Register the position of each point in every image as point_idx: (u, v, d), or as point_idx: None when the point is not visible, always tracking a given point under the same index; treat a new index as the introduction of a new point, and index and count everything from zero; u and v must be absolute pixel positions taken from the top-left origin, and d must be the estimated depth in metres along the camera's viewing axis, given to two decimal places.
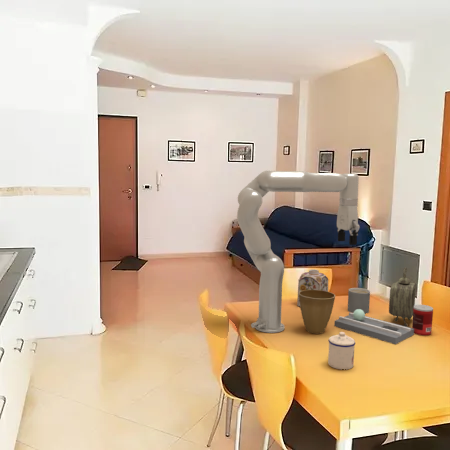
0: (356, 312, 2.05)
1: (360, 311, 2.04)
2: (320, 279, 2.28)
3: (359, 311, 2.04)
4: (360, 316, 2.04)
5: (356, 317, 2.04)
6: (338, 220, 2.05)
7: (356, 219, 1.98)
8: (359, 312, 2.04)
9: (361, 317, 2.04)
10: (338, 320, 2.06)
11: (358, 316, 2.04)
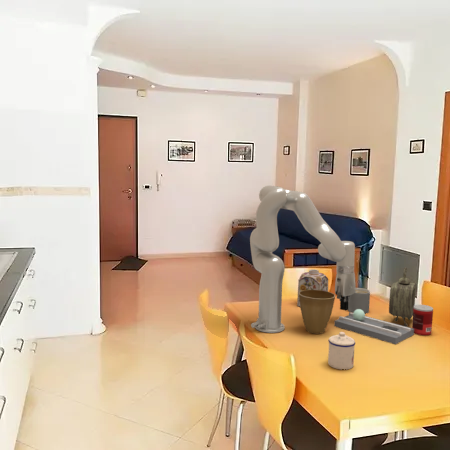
0: (356, 312, 2.05)
1: (360, 311, 2.04)
2: (320, 279, 2.28)
3: (359, 311, 2.04)
4: (360, 316, 2.04)
5: (356, 317, 2.04)
6: (346, 288, 2.06)
7: None
8: (359, 312, 2.04)
9: (361, 317, 2.04)
10: (338, 320, 2.06)
11: (358, 316, 2.04)
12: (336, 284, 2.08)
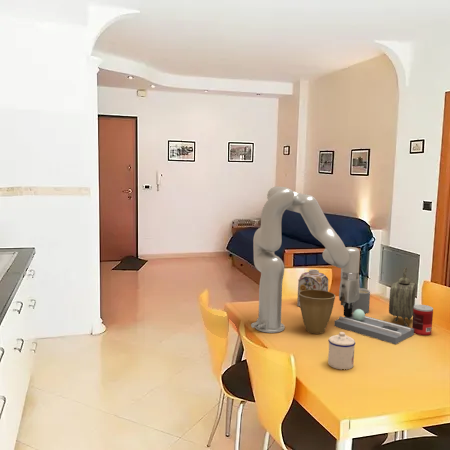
0: (356, 312, 2.05)
1: (360, 311, 2.04)
2: (320, 279, 2.28)
3: (359, 311, 2.04)
4: (360, 316, 2.04)
5: (356, 317, 2.04)
6: (350, 295, 2.05)
7: None
8: (359, 312, 2.04)
9: (361, 317, 2.04)
10: (338, 320, 2.06)
11: (358, 316, 2.04)
12: (340, 290, 2.06)
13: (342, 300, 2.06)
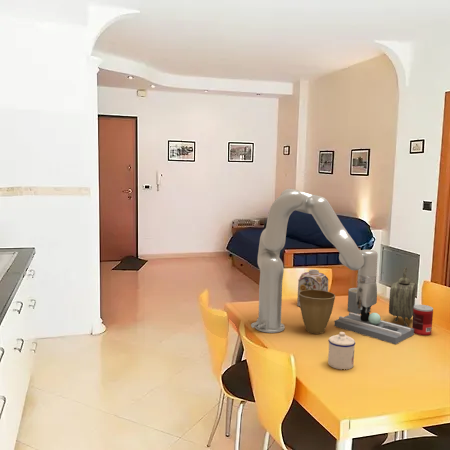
0: (374, 323, 2.00)
1: None
2: (320, 279, 2.28)
3: None
4: (369, 320, 2.01)
5: (371, 318, 2.00)
6: (368, 299, 1.99)
7: None
8: (372, 323, 2.00)
9: None
10: (338, 320, 2.06)
11: (370, 320, 2.00)
12: (357, 294, 2.00)
13: (359, 304, 2.00)
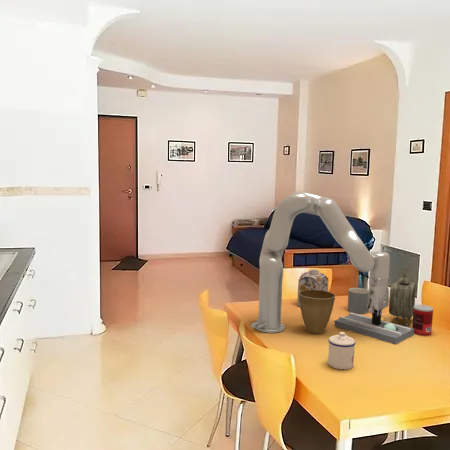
0: None
1: None
2: (320, 279, 2.28)
3: None
4: None
5: None
6: (380, 302, 1.95)
7: None
8: None
9: None
10: (338, 320, 2.06)
11: None
12: (369, 297, 1.96)
13: (371, 307, 1.96)
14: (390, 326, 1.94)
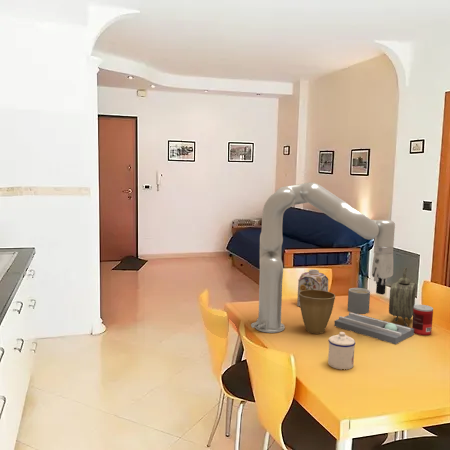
0: None
1: (389, 326, 1.94)
2: (320, 279, 2.28)
3: (388, 327, 1.95)
4: None
5: None
6: (384, 270, 1.92)
7: None
8: None
9: None
10: (338, 320, 2.06)
11: None
12: (373, 265, 1.94)
13: (375, 276, 1.93)
14: (392, 324, 1.95)
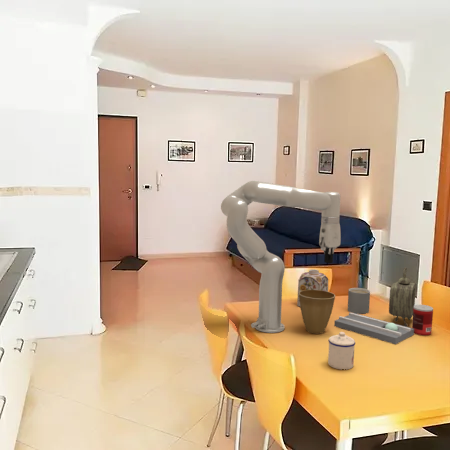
0: (386, 328, 1.95)
1: (390, 325, 1.95)
2: (320, 279, 2.28)
3: (389, 326, 1.95)
4: (392, 330, 1.94)
5: None
6: (331, 239, 2.02)
7: None
8: (389, 327, 1.95)
9: None
10: (338, 320, 2.06)
11: None
12: (320, 235, 2.03)
13: (322, 245, 2.02)
14: (393, 324, 1.95)
